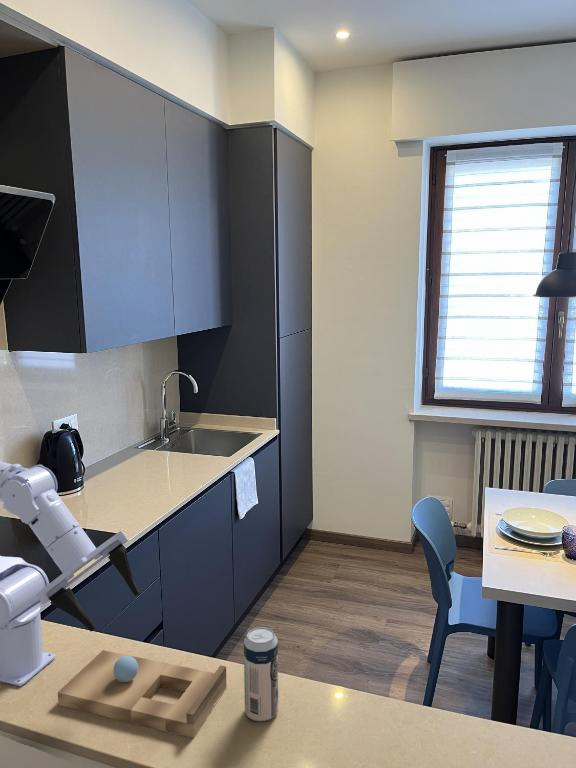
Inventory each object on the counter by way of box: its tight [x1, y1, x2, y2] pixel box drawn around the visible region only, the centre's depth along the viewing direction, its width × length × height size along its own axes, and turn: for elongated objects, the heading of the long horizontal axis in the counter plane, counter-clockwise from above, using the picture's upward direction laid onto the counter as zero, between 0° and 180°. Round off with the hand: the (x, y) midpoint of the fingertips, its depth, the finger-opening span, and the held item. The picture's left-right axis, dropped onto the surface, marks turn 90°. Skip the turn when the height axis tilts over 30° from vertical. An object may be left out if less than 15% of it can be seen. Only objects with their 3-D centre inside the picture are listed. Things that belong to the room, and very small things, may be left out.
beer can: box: [243, 626, 279, 722], centre depth 83 cm, size 5×5×12 cm
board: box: [57, 649, 228, 739], centre depth 87 cm, size 22×11×4 cm, turn 72°
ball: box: [113, 655, 138, 682], centre depth 88 cm, size 4×4×4 cm
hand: (116, 611), depth 87 cm, fingers open, 7 cm apart
